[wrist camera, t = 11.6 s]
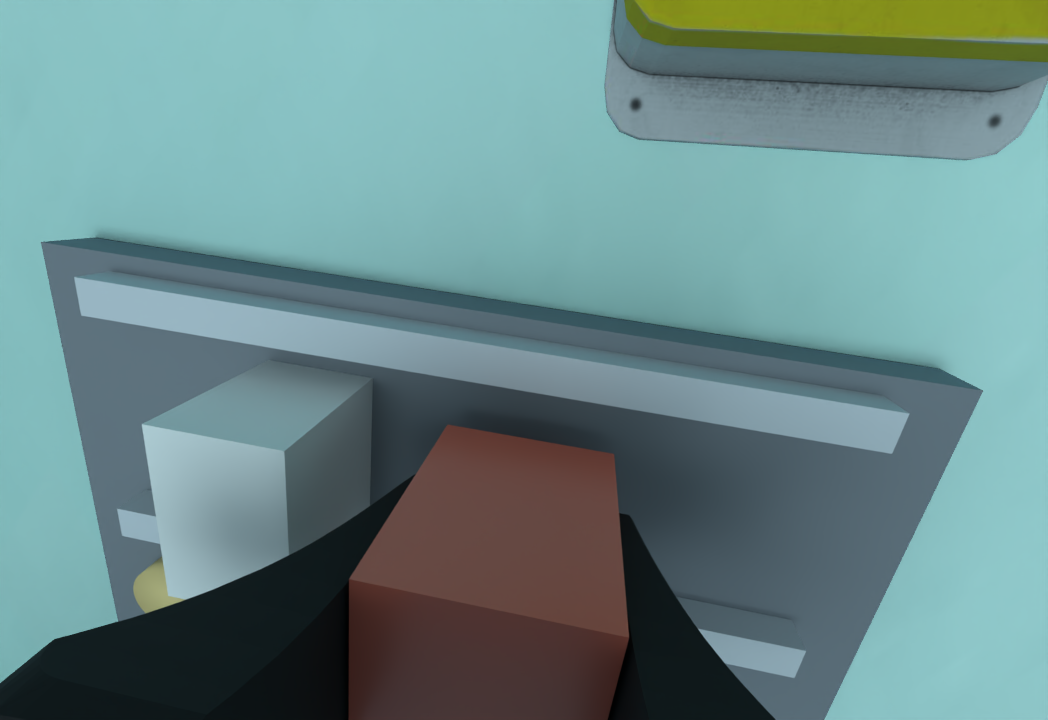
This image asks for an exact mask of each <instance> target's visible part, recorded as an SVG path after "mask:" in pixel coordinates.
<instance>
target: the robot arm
mask: <svg viewBox="0 0 1048 720" xmlns="http://www.w3.org/2000/svg"><path fill="white" fill-rule="evenodd" d="M415 475H416V474H414V475H413V476H411V477H410V478H408V479H407V480H405V481H404V482H403V483H401V484H400V485H398V486H397V487H396V488H394V489H393V490H391V491H390V492H389V493H387V494H386V495H385V496H383V497H382V498H380V499H379V500H378V501H376V502H375V503H373V504H372V505H370V506H369V507H367V508H366V509H365V510H363V511H362V512H360V513H359V514H357V515H356V516H354V517H353V518H351V519H350V520H348V521H347V522H345V523H344V524H342V525H340V526H339V527H337V528H336V529H334V530H332V531H331V532H329V533H327V534H326V535H324V536H323V537H321V538H319V539H318V540H316V541H314V542H313V543H311V544H309V545H307V546H305V547H304V548H302V549H300V550H298V551H296V552H294V553H292V554H290V555H288V556H286V557H284V558H282V559H280V560H278V561H276V562H274V563H272V564H270V565H268V566H266V567H264V568H262V569H260V570H257V571H255V572H253V573H250V574H248V575H246V576H243V577H241V578H239V579H236V580H234V581H232V582H229V583H227V584H225V585H222V586H220V587H218V588H215V589H213V590H210V591H208V592H205V593H202V594H200V595H197V596H194V597H192V598H189V599H186V600H184V601H181V602H178V603H175V604H172V605H169V606H166V607H163V608H160V609H157V610H154V611H151V612H148V613H145V614H142V615H139V616H136V617H133V618H129V619H126V620H122V621H119V622H115V623H112V624H108V625H105V626H101V627H98V628H94V629H91V630H87V631H84V632H80V633H76V634H73V635H69V636H65V637H61V638H57V639H54V640H53V641H52V642H50V643H49V644H48V645H47V646H45V647H44V648H43V649H41V650H40V651H39V652H38V653H37V654H35V655H34V656H33V657H32V658H31V659H29V660H28V661H27V662H26V663H24V664H23V665H22V666H21V667H20V668H18V669H17V670H16V671H15V672H13V673H12V674H11V675H10V676H9V677H7V678H6V679H5V680H4V681H3V682H1V683H0V720H349V578H350V577H351V575H352V574H353V572H354V571H355V569H356V567H357V566H358V564H359V563H360V561H361V560H362V558H363V556H364V555H365V553H366V552H367V550H368V549H369V547H370V545H371V544H372V542H373V541H374V539H375V538H376V536H377V534H378V533H379V531H380V530H381V528H382V527H383V525H384V523H385V522H386V520H387V519H388V517H389V516H390V514H391V512H392V511H393V509H394V508H395V506H396V505H397V503H398V501H399V500H400V498H401V497H402V495H403V494H404V492H405V490H406V489H407V487H408V486H409V484H410V483H411V481H412V479H413V478H414V476H415ZM619 520H620V532H621V544H622V556H623V569H624V581H625V593H626V605H627V618H628V630H629V640H628V644H627V648H626V652H625V655H624V659H623V663H622V667H621V671H620V674H619V678H618V682H617V686H616V690H615V693H614V697H613V701H612V705H611V709H610V712H609V716H608V720H776V719H775V718H774V717H773V716H772V715H771V714H770V713H769V712H768V711H767V710H766V709H765V708H764V707H763V706H762V704H761V703H760V702H759V701H758V700H757V699H756V698H755V697H754V696H753V695H752V694H751V693H750V691H749V690H748V689H747V688H746V687H745V686H744V685H743V684H742V683H741V682H740V680H739V679H738V678H737V677H736V676H735V675H734V674H733V672H732V671H731V670H730V669H729V668H728V667H727V665H726V664H725V663H724V662H723V660H722V659H721V658H720V657H719V655H718V654H717V653H716V652H715V650H714V649H713V648H712V647H711V645H710V644H709V643H708V642H707V640H706V639H705V638H704V636H703V635H702V634H701V632H700V631H699V630H698V628H697V627H696V625H695V624H694V623H693V621H692V620H691V618H690V617H689V615H688V614H687V612H686V611H685V609H684V608H683V607H682V605H681V604H680V602H679V600H678V599H677V597H676V596H675V594H674V593H673V591H672V590H671V588H670V586H669V585H668V583H667V581H666V580H665V578H664V576H663V575H662V573H661V571H660V570H659V568H658V566H657V565H656V563H655V561H654V559H653V558H652V556H651V554H650V552H649V550H648V548H647V547H646V545H645V543H644V541H643V539H642V537H641V535H640V533H639V531H638V529H637V527H636V525H635V523H634V521H633V519H632V518H631V517H630V515H627V514H622V513H619Z"/></svg>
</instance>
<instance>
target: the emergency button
mask: <svg viewBox="0 0 1048 720" xmlns="http://www.w3.org/2000/svg"><path fill="white" fill-rule="evenodd" d="M1047 81H1048V0H614V6H613V15H612V24H611V33H610V42H609V51H608V60H607V69H606V78H605V96H606V107H607V113H608V115H609V116H610V118H611V119H612V121H613V123H614V124H615V126H616V127H617V129H618V130H619V132H621V133H624V134H626V135H629V136H631V137H633V138H636V139H639V140H654V141H670V142H686V143H702V144H718V145H733V146H749V147H765V148H781V149H797V150H812V151H828V152H844V153H860V154H876V155H891V156H907V157H923V158H939V159H954V160H971V159H975V158H980V157H984V156H989V155H993V154H997V153H998V152H999V151H1001V150H1002V149H1003V148H1004V147H1006V146H1007V145H1008V144H1010V143H1011V142H1012V141H1014V140H1015V139H1016V138H1017V137H1019V136H1020V135H1021V134H1022V132H1023V130H1024V129H1025V127H1026V126H1027V124H1028V122H1029V121H1030V119H1031V117H1032V116H1033V114H1034V112H1035V111H1036V109H1037V108H1038V105H1039V102H1040V100H1041V97H1042V95H1043V92H1044V89H1045V87H1046V84H1047Z"/></svg>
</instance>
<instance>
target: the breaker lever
mask: <svg viewBox="0 0 1048 720" xmlns="http://www.w3.org/2000/svg"><path fill="white" fill-rule="evenodd" d="M372 391H373V378H369V377H364V376H358V375H352V374H346V373H340V372H335V371H329V370H323V369H317V368H312V367H306V366H300V365H294V364H288V363H283V362H277V361H271V360H268V361H266V362H264V363H262V364H260V365H258V366H256V367H254V368H252V369H250V370H248V371H246V372H244V373H242V374H240V375H238V376H236V377H234V378H232V379H230V380H228V381H226V382H224V383H222V384H220V385H218V386H216V387H214V388H212V389H210V390H208V391H206V392H204V393H202V394H200V395H198V396H196V397H195V398H193V399H191V400H189V401H187V402H185V403H183V404H181V405H179V406H177V407H175V408H173V409H171V410H169V411H167V412H165V413H163V414H161V415H159V416H157V417H155V418H153V419H151V420H149V421H147V422H145V423H143V424H142V429H143V436H144V442H145V449H146V455H147V462H148V468H149V475H150V481H151V488H152V494H153V501H154V507H155V514H156V520H157V526H158V533H159V539H160V546H161V552H162V559H163V565H164V572H165V578H166V585H167V591H168V596H171V597H176V598H181V599H185V600H186V599H189V598H192V597H194V596H197V595H200V594H202V593H205V592H208V591H210V590H213V589H215V588H218V587H220V586H222V585H225V584H227V583H229V582H232V581H234V580H236V579H239V578H241V577H243V576H246V575H248V574H250V573H253V572H255V571H257V570H260V569H262V568H264V567H266V566H268V565H270V564H272V563H274V562H276V561H278V560H280V559H282V558H284V557H286V556H288V555H290V554H292V553H294V552H296V551H298V550H300V549H302V548H304V547H305V546H307V545H309V544H311V543H313V542H314V541H316V540H318V539H319V538H321V537H323V536H324V535H326V534H327V533H329V532H331V531H332V530H334V529H336V528H337V527H339V526H340V525H342V524H344V523H345V522H347V521H348V520H350V519H351V518H353V517H354V516H356V515H357V514H359V513H360V512H362V511H363V510H365V509H366V508H367V507H369V506H370V477H371V434H372Z"/></svg>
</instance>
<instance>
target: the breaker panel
mask: <svg viewBox="0 0 1048 720" xmlns="http://www.w3.org/2000/svg"><path fill="white" fill-rule="evenodd" d="M41 244H42V249H43V254H44V259H45V264H46V269H47V274H48V279H49V284H50V289H51V293H52V298H53V303H54V308H55V313H56V318H57V323H58V328H59V333H60V338H61V343H62V347H63V352H64V357H65V362H66V367H67V372H68V377H69V382H70V387H71V392H72V397H73V401H74V406H75V411H76V416H77V421H78V426H79V431H80V436H81V441H82V446H83V451H84V455H85V460H86V465H87V470H88V475H89V480H90V485H91V490H92V495H93V500H94V505H95V509H96V514H97V519H98V524H99V529H100V534H101V539H102V544H103V549H104V554H105V559H106V563H107V568H108V573H109V578H110V583H111V588H112V593H113V598H114V603H115V608H116V612H117V617H118V622H119V621H122V620H126V619H129V618H133V617H136V616H139V615H142V614H145V613H148V612H151V611H154V610H157V609H160V608H163V607H166V606H169V605H172V604H175V603H178V602H181V601H184V600H185V599H181V598H176V597H171V596H168V591H167V585H166V578H165V572H164V565H163V559H162V552H161V546H160V539H159V533H158V526H157V520H156V514H155V507H154V501H153V494H152V488H151V481H150V475H149V468H148V462H147V455H146V449H145V442H144V436H143V429H142V424H143V423H145V422H147V421H149V420H151V419H153V418H155V417H157V416H159V415H161V414H163V413H165V412H167V411H169V410H171V409H173V408H175V407H177V406H179V405H181V404H183V403H185V402H187V401H189V400H191V399H193V398H195V397H196V396H198V395H200V394H202V393H204V392H206V391H208V390H210V389H212V388H214V387H216V386H218V385H220V384H222V383H224V382H226V381H228V380H230V379H232V378H234V377H236V376H238V375H240V374H242V373H244V372H246V371H248V370H250V369H252V368H254V367H256V366H258V365H260V364H262V363H264V362H266V361H268V360H271V361H277V362H283V363H288V364H294V365H300V366H306V367H312V368H317V369H323V370H329V371H335V372H340V373H346V374H352V375H358V376H364V377H369V378H373V391H372V434H371V477H370V505H372V504H373V503H375V502H376V501H378V500H379V499H380V498H382V497H383V496H385V495H386V494H387V493H389V492H390V491H391V490H393V489H394V488H396V487H397V486H398V485H400V484H401V483H403V482H404V481H405V480H407V479H408V478H410V477H411V476H413V475H414V474H416V473H417V472H418V470H419V468H420V467H421V465H422V464H423V462H424V461H425V459H426V457H427V456H428V454H429V453H430V451H431V450H432V448H433V447H434V445H435V443H436V442H437V440H438V439H439V437H440V436H441V434H442V432H443V431H444V429H445V428H446V426H447V425H453V426H459V427H465V428H470V429H476V430H482V431H487V432H493V433H499V434H504V435H510V436H516V437H521V438H527V439H533V440H538V441H544V442H549V443H555V444H561V445H566V446H572V447H578V448H583V449H589V450H595V451H600V452H606V453H612V454H614V458H615V471H616V483H617V495H618V507H619V513H622V514H627V515H630V517H631V518H632V519H633V521H634V523H635V525H636V527H637V529H638V531H639V533H640V535H641V537H642V539H643V541H644V543H645V545H646V547H647V548H648V550H649V552H650V554H651V556H652V558H653V559H654V561H655V563H656V565H657V566H658V568H659V570H660V571H661V573H662V575H663V576H664V578H665V580H666V581H667V583H668V585H669V586H670V588H671V590H672V591H673V593H674V594H675V596H676V597H677V599H678V600H679V602H680V604H681V605H682V607H683V608H684V609H685V611H686V612H687V614H688V615H689V617H690V618H691V620H692V621H693V623H694V624H695V625H696V627H697V628H698V630H699V631H700V632H701V634H702V635H703V636H704V638H705V639H706V640H707V642H708V643H709V644H710V645H711V647H712V648H713V649H714V650H715V652H716V653H717V654H718V655H719V657H720V658H721V659H722V660H723V662H724V663H725V664H726V665H727V667H728V668H729V669H730V670H731V671H732V672H733V674H734V675H735V676H736V677H737V678H738V679H739V680H740V682H741V683H742V684H743V685H744V686H745V687H746V688H747V689H748V690H749V691H750V693H751V694H752V695H753V696H754V697H755V698H756V699H757V700H758V701H759V702H760V703H761V704H762V706H763V707H764V708H765V709H766V710H767V711H768V712H769V713H770V714H771V715H772V716H773V717H774V718H775V719H776V720H824V719H825V717H826V715H827V713H828V711H829V708H830V706H831V704H832V702H833V700H834V698H835V696H836V694H837V692H838V690H839V688H840V686H841V684H842V682H843V679H844V677H845V675H846V673H847V671H848V669H849V667H850V665H851V663H852V661H853V659H854V657H855V655H856V653H857V651H858V648H859V646H860V644H861V642H862V640H863V638H864V636H865V634H866V632H867V630H868V628H869V626H870V624H871V622H872V619H873V617H874V615H875V613H876V611H877V609H878V607H879V605H880V603H881V601H882V599H883V597H884V595H885V593H886V591H887V588H888V586H889V584H890V582H891V580H892V578H893V576H894V574H895V572H896V570H897V568H898V566H899V564H900V562H901V559H902V557H903V555H904V553H905V551H906V549H907V547H908V545H909V543H910V541H911V539H912V537H913V535H914V533H915V531H916V528H917V526H918V524H919V522H920V520H921V518H922V516H923V514H924V512H925V510H926V508H927V506H928V504H929V502H930V500H931V497H932V495H933V493H934V491H935V489H936V487H937V485H938V483H939V481H940V479H941V477H942V475H943V473H944V471H945V468H946V466H947V464H948V462H949V460H950V458H951V456H952V454H953V452H954V450H955V448H956V446H957V444H958V442H959V440H960V437H961V435H962V433H963V431H964V429H965V427H966V425H967V423H968V421H969V419H970V417H971V415H972V413H973V411H974V408H975V406H976V404H977V402H978V400H979V398H980V396H981V394H982V392H983V390H981V389H979V388H977V387H975V386H973V385H971V384H969V383H967V382H965V381H963V380H961V379H959V378H957V377H955V376H953V375H951V374H949V373H947V372H945V371H943V370H941V369H937V368H931V367H924V366H918V365H912V364H905V363H899V362H892V361H886V360H879V359H873V358H866V357H860V356H854V355H847V354H841V353H834V352H828V351H821V350H815V349H808V348H802V347H796V346H789V345H783V344H776V343H770V342H763V341H757V340H750V339H744V338H738V337H731V336H725V335H718V334H712V333H705V332H699V331H693V330H686V329H680V328H673V327H667V326H660V325H654V324H647V323H641V322H635V321H628V320H622V319H615V318H609V317H602V316H596V315H589V314H583V313H577V312H570V311H564V310H557V309H551V308H544V307H538V306H531V305H525V304H519V303H512V302H506V301H499V300H493V299H486V298H480V297H473V296H467V295H461V294H454V293H448V292H441V291H435V290H428V289H422V288H416V287H409V286H403V285H396V284H390V283H383V282H377V281H370V280H364V279H358V278H351V277H345V276H338V275H332V274H325V273H319V272H312V271H306V270H300V269H293V268H287V267H280V266H274V265H267V264H261V263H254V262H248V261H242V260H235V259H229V258H222V257H216V256H209V255H203V254H196V253H190V252H184V251H177V250H171V249H164V248H158V247H151V246H145V245H139V244H132V243H126V242H119V241H113V240H106V239H100V238H84V239H72V240H60V241H48V242H41Z"/></svg>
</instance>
